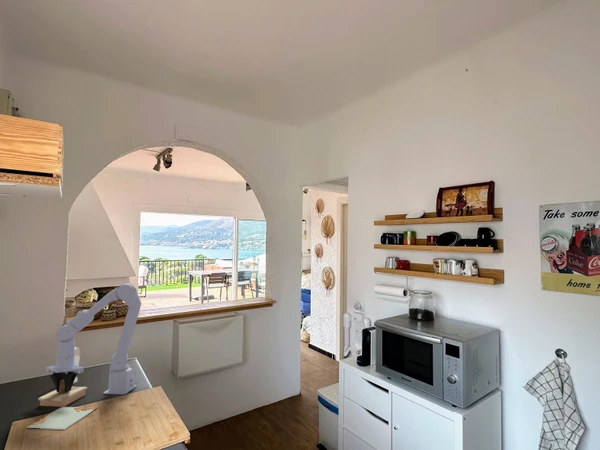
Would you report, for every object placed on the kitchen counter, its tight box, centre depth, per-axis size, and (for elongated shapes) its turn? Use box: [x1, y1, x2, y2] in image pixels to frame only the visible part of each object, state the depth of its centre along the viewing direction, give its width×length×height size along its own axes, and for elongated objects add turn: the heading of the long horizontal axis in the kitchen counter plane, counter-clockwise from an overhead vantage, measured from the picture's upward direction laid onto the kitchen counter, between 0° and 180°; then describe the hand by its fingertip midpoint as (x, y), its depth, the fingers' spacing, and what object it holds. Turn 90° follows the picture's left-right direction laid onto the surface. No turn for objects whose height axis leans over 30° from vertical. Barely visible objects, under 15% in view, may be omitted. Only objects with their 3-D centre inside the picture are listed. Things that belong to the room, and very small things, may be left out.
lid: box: [37, 380, 88, 401], centre depth 125 cm, size 11×11×5 cm
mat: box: [26, 406, 94, 431], centre depth 110 cm, size 14×14×1 cm
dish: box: [39, 390, 86, 408], centre depth 124 cm, size 10×10×2 cm
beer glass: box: [66, 345, 81, 385], centre depth 142 cm, size 7×7×15 cm
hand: (63, 391), depth 124 cm, fingers closed on lid, 3 cm apart
